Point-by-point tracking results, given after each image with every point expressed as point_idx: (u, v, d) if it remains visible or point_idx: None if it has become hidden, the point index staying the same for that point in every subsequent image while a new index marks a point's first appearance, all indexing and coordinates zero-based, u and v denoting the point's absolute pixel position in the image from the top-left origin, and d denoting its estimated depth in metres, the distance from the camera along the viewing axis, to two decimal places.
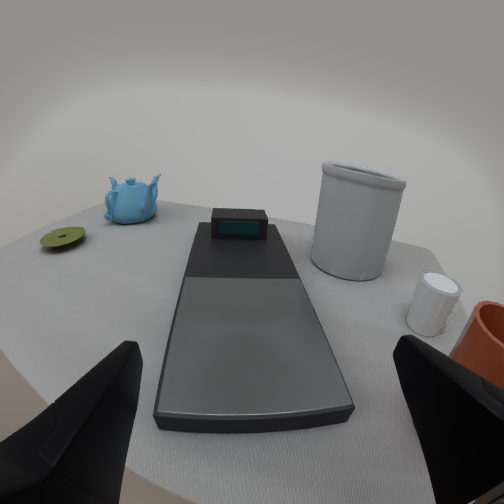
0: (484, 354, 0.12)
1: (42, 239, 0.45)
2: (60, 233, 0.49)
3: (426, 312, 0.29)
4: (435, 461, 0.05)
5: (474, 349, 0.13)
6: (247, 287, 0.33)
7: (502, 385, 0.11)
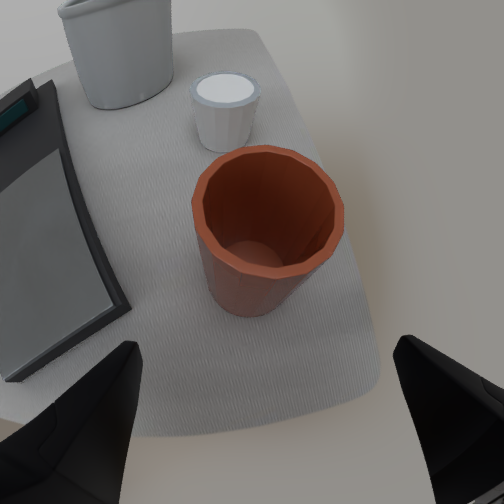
0: (216, 265, 0.12)
1: None
2: None
3: (211, 129, 0.24)
4: (435, 461, 0.05)
5: (203, 251, 0.13)
6: (13, 194, 0.20)
7: (279, 292, 0.14)
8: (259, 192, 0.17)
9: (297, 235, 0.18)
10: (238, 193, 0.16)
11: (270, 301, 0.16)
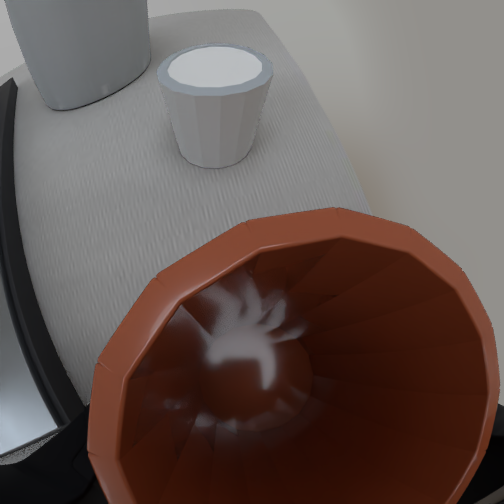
0: None
1: None
2: None
3: (192, 133, 0.15)
4: None
5: None
6: None
7: None
8: (286, 294, 0.07)
9: (350, 354, 0.09)
10: (239, 304, 0.07)
11: None
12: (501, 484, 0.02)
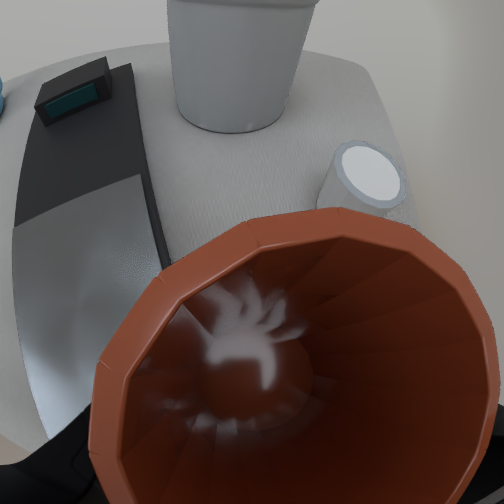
0: None
1: None
2: None
3: None
4: None
5: None
6: (71, 220, 0.20)
7: None
8: (287, 294, 0.07)
9: (351, 354, 0.09)
10: (240, 304, 0.07)
11: None
12: (501, 484, 0.02)
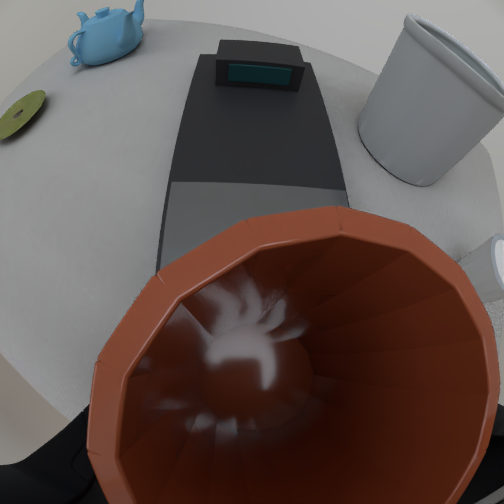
0: None
1: None
2: (16, 109, 0.26)
3: (477, 290, 0.20)
4: None
5: None
6: (267, 207, 0.21)
7: None
8: (286, 293, 0.07)
9: (350, 354, 0.09)
10: (239, 303, 0.07)
11: None
12: (501, 484, 0.02)
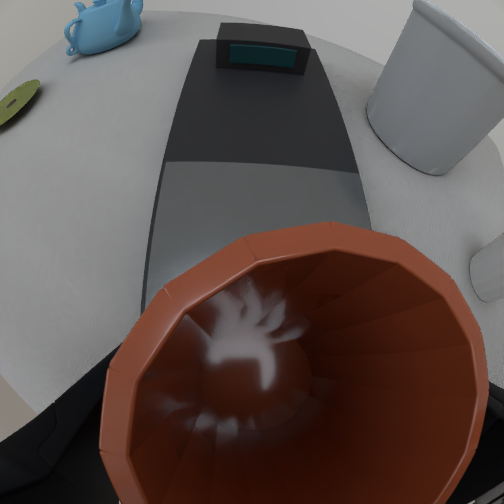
0: None
1: None
2: (10, 98, 0.24)
3: (497, 284, 0.18)
4: None
5: None
6: (273, 188, 0.19)
7: None
8: (284, 299, 0.08)
9: (347, 356, 0.09)
10: (239, 309, 0.07)
11: None
12: None
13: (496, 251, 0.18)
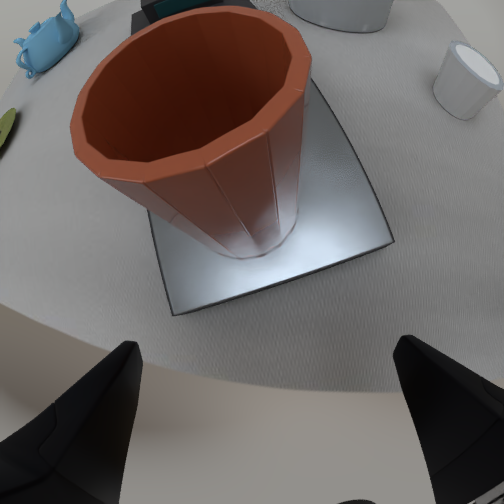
0: (129, 195, 0.07)
1: None
2: None
3: (461, 94, 0.16)
4: (435, 461, 0.05)
5: None
6: None
7: (256, 199, 0.08)
8: (193, 86, 0.10)
9: None
10: (165, 99, 0.10)
11: (260, 221, 0.10)
12: None
13: (445, 67, 0.16)
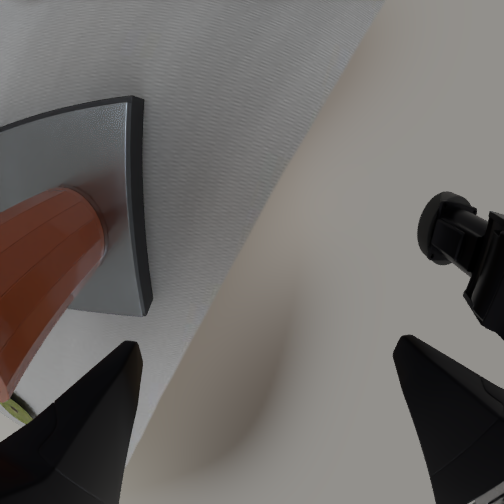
0: (19, 377, 0.07)
1: None
2: (12, 411, 0.30)
3: None
4: (435, 461, 0.05)
5: None
6: None
7: (20, 298, 0.08)
8: None
9: None
10: None
11: (47, 274, 0.10)
12: None
13: None
